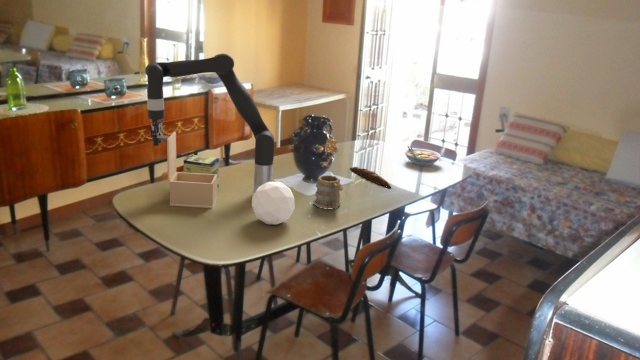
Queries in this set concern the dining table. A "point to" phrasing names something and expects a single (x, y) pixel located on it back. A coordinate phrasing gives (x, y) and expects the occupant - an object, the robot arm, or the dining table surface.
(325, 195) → the tankard
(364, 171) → the bread
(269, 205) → the ball
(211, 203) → the carton
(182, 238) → the dining table surface
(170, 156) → the lid flap
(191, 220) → the dining table surface
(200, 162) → the protein box
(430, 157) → the ramen bowl
